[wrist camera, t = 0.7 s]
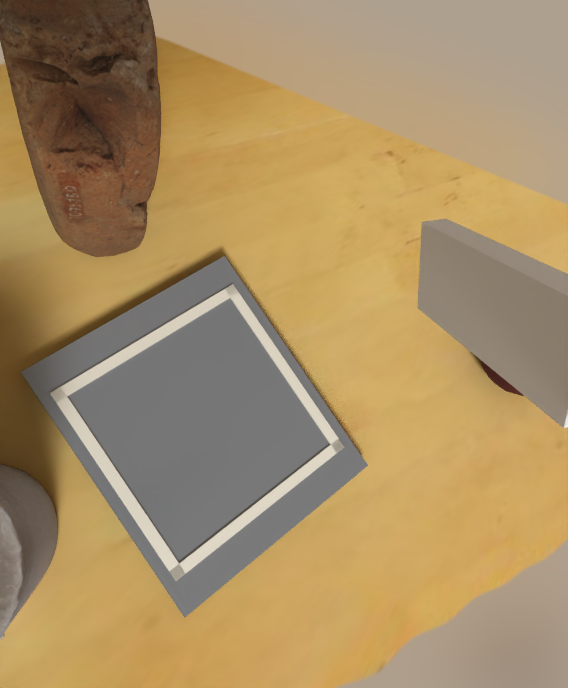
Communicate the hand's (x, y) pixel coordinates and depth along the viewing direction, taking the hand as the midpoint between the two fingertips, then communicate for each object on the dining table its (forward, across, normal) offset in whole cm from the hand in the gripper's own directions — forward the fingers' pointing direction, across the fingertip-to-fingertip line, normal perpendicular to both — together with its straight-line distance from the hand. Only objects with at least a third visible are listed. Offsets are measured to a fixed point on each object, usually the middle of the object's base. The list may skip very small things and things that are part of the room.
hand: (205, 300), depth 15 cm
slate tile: (+19, 0, -18) cm, 26 cm away
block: (+30, -5, -2) cm, 31 cm away
